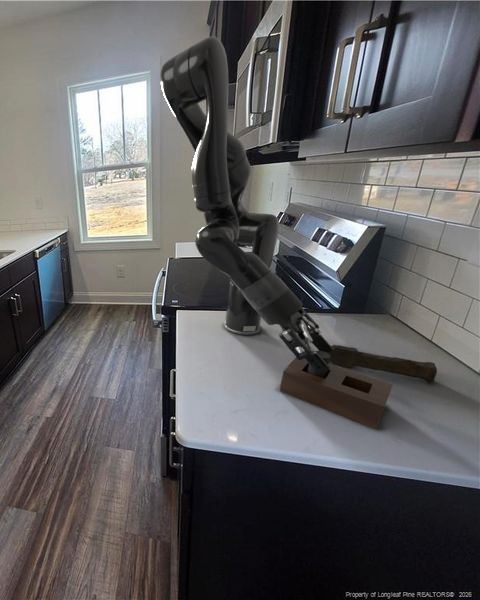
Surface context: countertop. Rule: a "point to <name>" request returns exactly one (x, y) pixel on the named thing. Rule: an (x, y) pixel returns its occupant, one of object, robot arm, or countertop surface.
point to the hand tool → (382, 363)
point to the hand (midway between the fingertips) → (326, 360)
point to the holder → (338, 391)
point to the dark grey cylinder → (326, 358)
